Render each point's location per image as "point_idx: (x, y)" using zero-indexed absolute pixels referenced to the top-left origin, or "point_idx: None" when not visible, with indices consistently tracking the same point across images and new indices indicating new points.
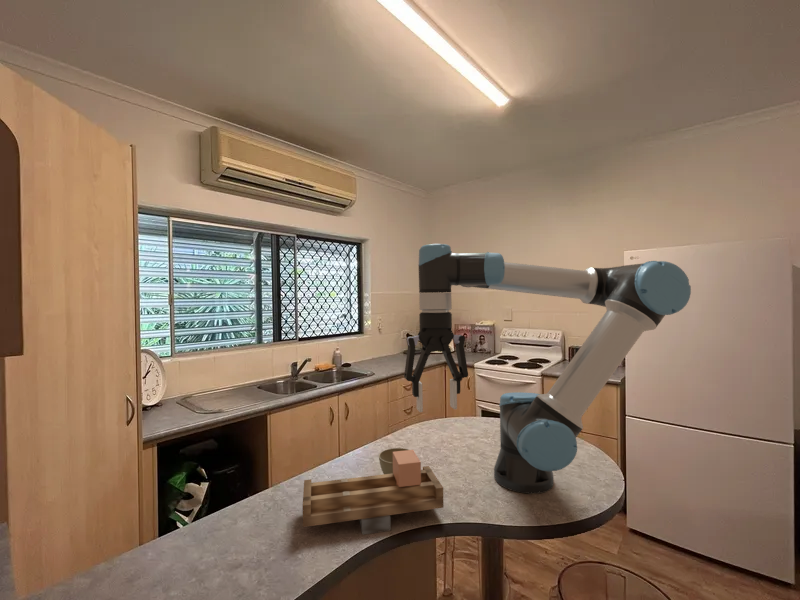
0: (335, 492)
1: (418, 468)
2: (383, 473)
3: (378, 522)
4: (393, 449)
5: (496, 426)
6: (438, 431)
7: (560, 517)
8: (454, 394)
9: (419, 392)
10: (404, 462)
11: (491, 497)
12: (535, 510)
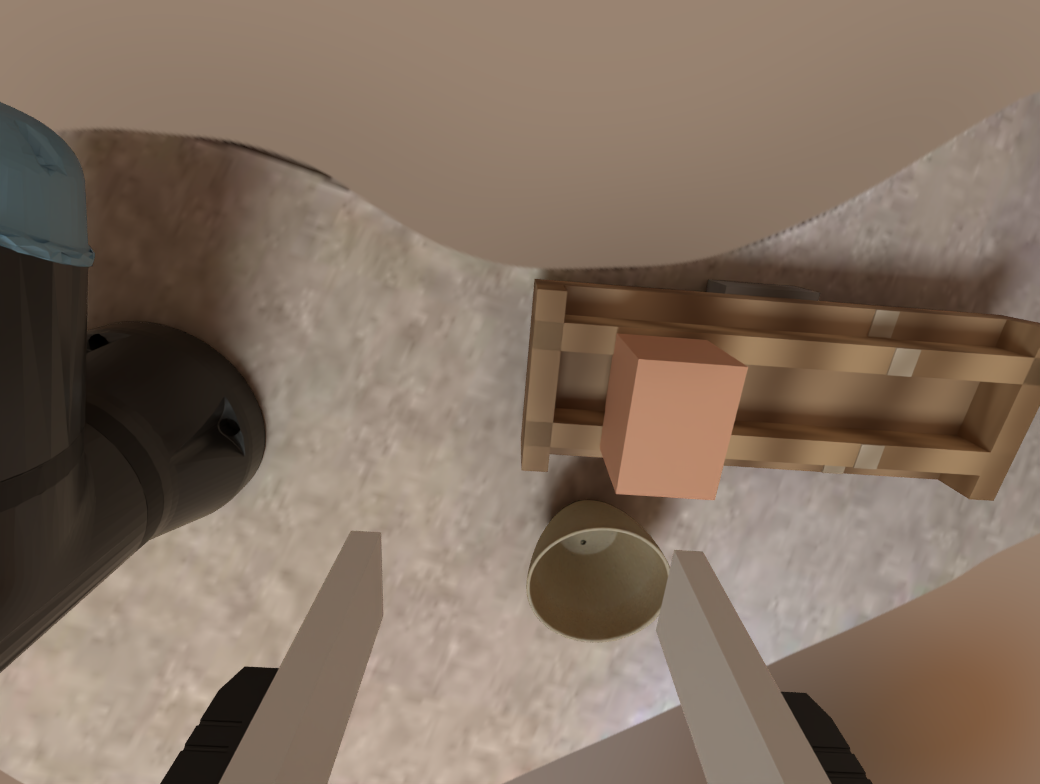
0: (881, 431)
1: (642, 352)
2: (642, 544)
3: (759, 286)
4: (591, 637)
5: (113, 765)
6: (336, 777)
7: (133, 164)
8: (322, 647)
9: (798, 724)
10: (714, 377)
11: (322, 351)
12: (203, 232)
